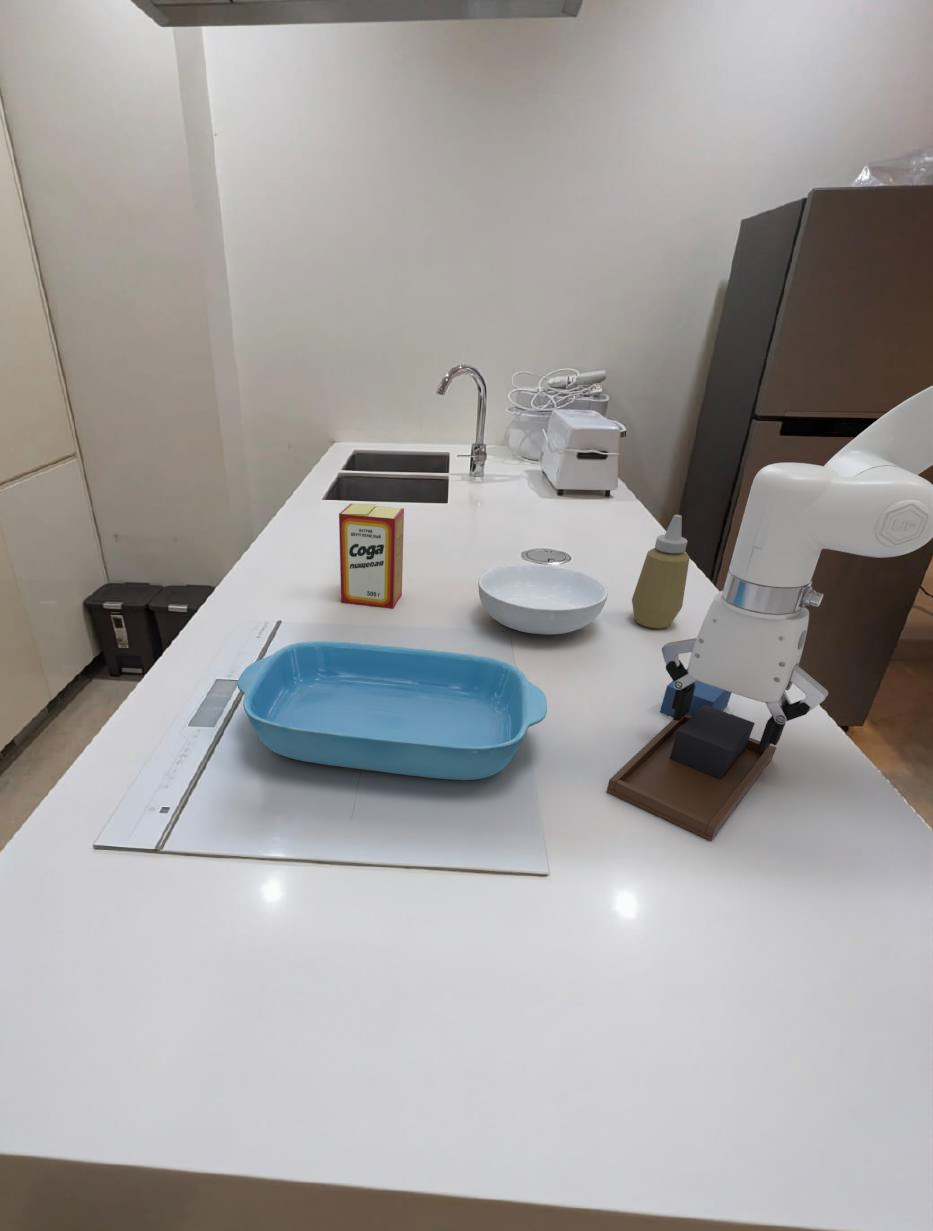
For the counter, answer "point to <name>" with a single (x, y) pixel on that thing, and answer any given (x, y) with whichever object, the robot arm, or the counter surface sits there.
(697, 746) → the black block
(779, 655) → the robot arm
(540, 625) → the serving bowl
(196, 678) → the counter surface
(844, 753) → the counter surface
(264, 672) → the casserole dish
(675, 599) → the squeeze bottle
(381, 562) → the baking soda box
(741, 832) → the counter surface
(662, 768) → the brown wooden tray
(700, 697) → the blue rectangular block
